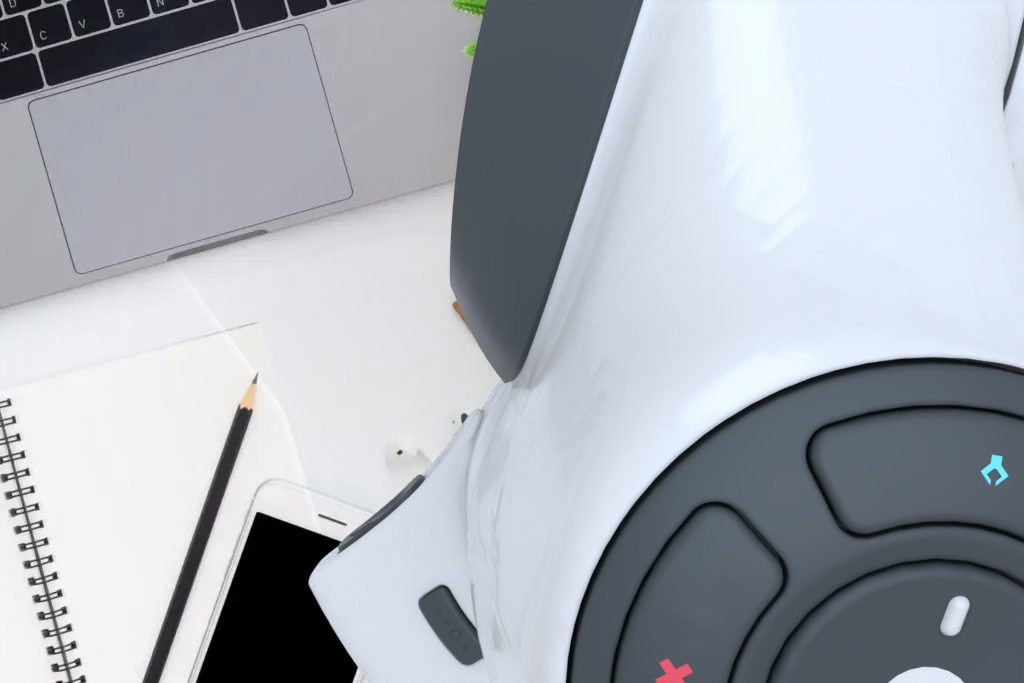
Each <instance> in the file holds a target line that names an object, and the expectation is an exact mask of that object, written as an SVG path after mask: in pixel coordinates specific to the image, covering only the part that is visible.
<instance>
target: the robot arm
mask: <svg viewBox="0 0 1024 683" xmlns="http://www.w3.org/2000/svg"><path fill="white" fill-rule="evenodd" d="M470 69H471V70H470V73H469V80H468V86H467V92H466V97H465V103H464V104H465V105H464V110H463V115H462V116H463V117H462V122H461V129H460V136H459V142H458V143H459V144H458V152H457V161H456V169H455V177H454V188H453V199H452V210H451V211H452V213H451V224H450V225H451V226H450V244H449V245H450V247H449V248H450V249H449V286H450V288H451V290H452V292H453V295H454V297H455V300H456V301H457V302H458V304H459V306H460V308H461V311H462V313H463V315H464V317H465V319H466V321H467V323H468V325H469V327H470V328H469V327H468V328H469V330H470V332H471V334H472V336H473V338H474V339H475V341H476V343H477V346H478V347H479V349H480V350H481V352H482V354H483V356H484V357H485V359H486V360H487V362H488V364H489V365H490V366H491V367H492V369H493V370H494V372H495V373H496V374H497V376H498V377H499V378H500V380H499V382H498V383H497V384H496V386H495V387H494V388H493V390H492V391H491V393H490V394H489V395H488V397H487V399H486V401H485V402H484V404H483V406H482V408H481V409H480V408H478V409H475V410H473V411H472V412H470V413H469V415H468V416H467V417H466V418H465V420H464V421H463V423H462V424H461V425H460V427H459V428H458V429H457V431H456V432H455V434H454V435H453V436H452V438H451V439H450V441H448V443H447V445H446V446H445V447H444V449H443V450H442V451H441V452H440V453H439V455H438V456H437V457H436V458H435V459H434V461H433V462H432V463H431V464H430V466H428V467H427V469H426V470H425V471H424V472H423V473H422V474H418V475H416V476H414V478H413V479H412V480H410V482H409V483H408V484H407V485H406V486H404V487H403V489H402V490H400V491H399V492H398V493H397V494H396V495H394V497H393V498H391V499H390V500H389V501H388V502H387V503H386V504H385V505H383V506H382V507H381V508H380V509H379V510H377V511H376V512H375V513H374V514H373V515H371V516H370V517H369V518H368V519H366V520H365V521H364V522H363V523H362V524H360V525H359V526H357V527H356V528H355V529H354V530H352V532H350V533H349V534H348V535H346V536H345V537H344V538H343V539H342V540H341V541H340V543H339V544H338V546H337V547H335V548H334V549H333V550H331V551H330V552H329V553H328V554H326V555H325V556H324V557H323V558H321V560H320V561H319V562H318V563H317V565H316V566H315V568H314V569H313V571H312V572H311V573H310V576H309V580H308V586H309V588H310V590H311V592H312V594H313V596H314V597H315V599H316V601H317V603H318V605H319V607H320V609H321V611H322V612H323V614H324V616H325V617H326V619H327V621H328V622H329V625H330V626H331V628H332V630H333V631H334V633H335V634H336V636H337V637H338V639H339V641H340V642H341V644H342V645H343V647H344V648H345V650H346V652H347V653H348V655H349V656H350V657H351V659H352V660H353V662H354V663H355V665H356V666H357V667H358V669H359V670H360V672H361V673H362V675H363V676H364V678H365V679H366V681H368V683H1024V0H486V3H485V7H484V11H483V14H482V19H481V23H480V27H479V31H478V36H477V41H476V45H475V49H474V55H473V59H472V64H471V68H470Z"/></svg>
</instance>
